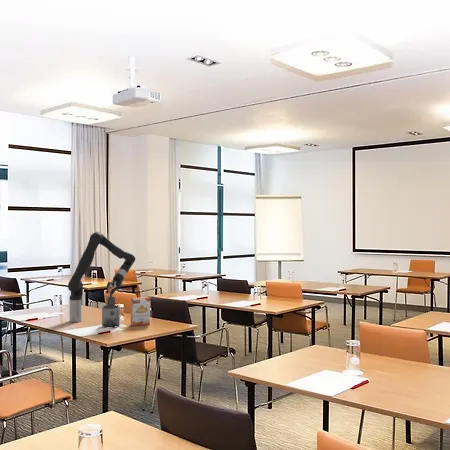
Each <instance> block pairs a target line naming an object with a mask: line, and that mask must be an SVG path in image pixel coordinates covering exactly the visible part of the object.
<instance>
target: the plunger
mask: <svg viewBox="0 0 450 450" xmlns="http://www.w3.org/2000/svg"><path fill="white" fill-rule="evenodd" d="M112 289H114V287H113V288H111V287H110V288H108V294H109V297H112V296H113V294H111V291H112Z"/></svg>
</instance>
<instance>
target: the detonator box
mask: <svg viewBox="0 0 450 450" xmlns="http://www.w3.org/2000/svg"><path fill="white" fill-rule="evenodd" d="M116 305H117V306H116ZM120 309H121V307H120V306H119V304H116V296H113V295H112V297H110V296H106V304H104V305H103V306H102V308H101V327H102V326H103V327H102V328H107V327H112V328H116V327H115V326H118V327H120V326H121V325H120V324H121V323H120V318H121V317H120V316H121V315H120V313H121V312H120ZM119 325H120V326H119Z"/></svg>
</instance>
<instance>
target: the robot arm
mask: <svg viewBox="0 0 450 450" xmlns="http://www.w3.org/2000/svg"><path fill="white" fill-rule="evenodd" d="M88 240H89V241H88V243H87V246H86V248H85V250H84V252H83V253H82V255H81V257H80V259H79V261H78V264H77V266H76V267H75V271H74V273H73V274H72V276H71V278H70V279H69V282H68V283H67V288H68V291H70V292H71V294H70V295H69V322H71V323H80V322H82V312H83V311H82V308H83V307H82V305H83V304H82V301H83V300H82V297H83V292H84V291H83V290H84V285H83V284H84V283H83V281H82V278H83V277H84V276H85V274H86V273H87V272H88V270H89V269H90V267H91V265H92V263H93V260H94V258H95V253H96V250H97V248H98V247H99V245H100V246H103V247H105V248H106V250H108V251H109V252H110V253H111V254H112V255H114V256H116V257H117V258H118V259H121V260H122V259H124V261H123V263H122V264H121V266H120V267H119V269H117V271H116V273H115V274H114V276H113V278H112V280H111V281H108V282H107V284H106V291H105V293H106V294H107V295H108V294H109V293H108V288H114V289H112V291H111V294H112V295H114V293H115V292H116V291H118V290H120V289H121V288H122V287H123V281H124V280H125V278H126V276H127V274H128V272H129V271H130V269H131V267H132V266H133V265H134V263H135V261H136V257H135V255H134V254H133V253H131V252H128V251H125V250H124V249H123V248H120V247H119V246H117V245H116V244H115V243H113V242H112V241H111V240H110V239H108V238H107V237H106V236H105V235H104V234H103V233H101V232H100V231H95V232H92V234H91V235H90V236H89V239H88Z"/></svg>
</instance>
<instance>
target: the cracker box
mask: <svg viewBox="0 0 450 450" xmlns="http://www.w3.org/2000/svg"><path fill="white" fill-rule="evenodd" d="M149 325H151V298H150V297H147V296H144V297H131V298H130V326H131V327H137V326H139V327H140V326H149Z"/></svg>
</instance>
